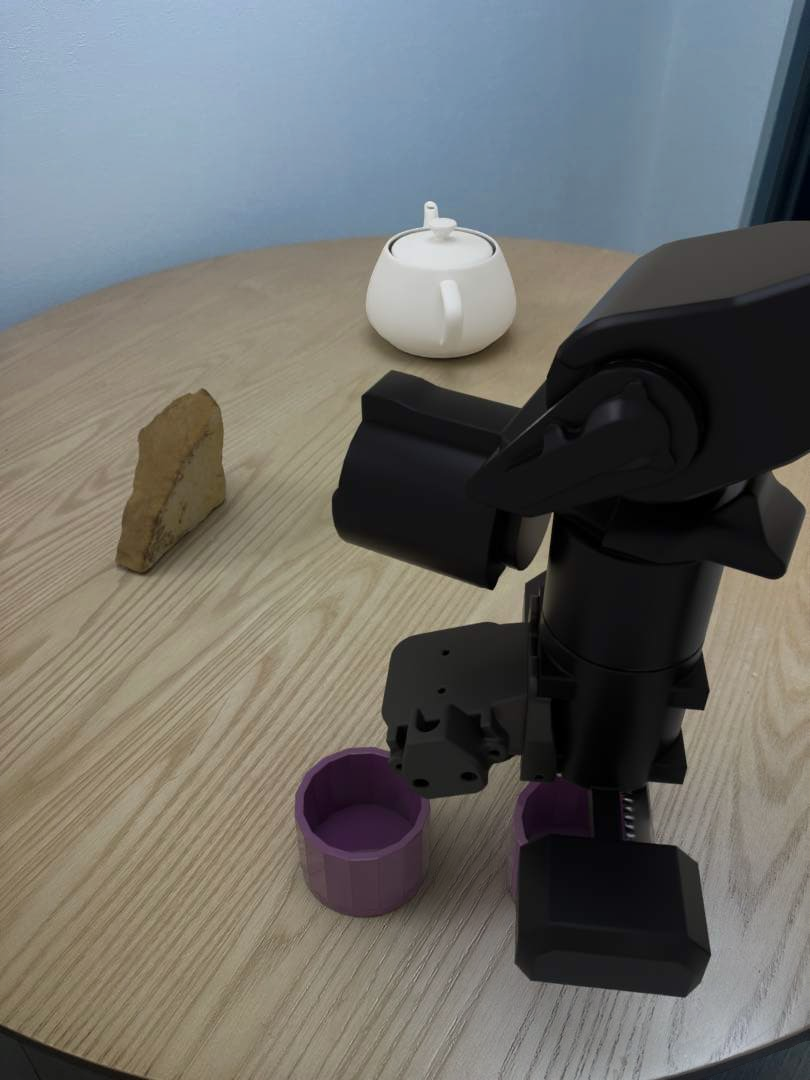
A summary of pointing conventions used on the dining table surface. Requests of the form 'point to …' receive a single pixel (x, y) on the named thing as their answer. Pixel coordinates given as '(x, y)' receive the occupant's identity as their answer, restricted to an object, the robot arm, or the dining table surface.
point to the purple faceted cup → (361, 833)
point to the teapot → (441, 290)
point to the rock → (173, 479)
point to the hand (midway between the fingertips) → (575, 865)
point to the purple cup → (547, 818)
